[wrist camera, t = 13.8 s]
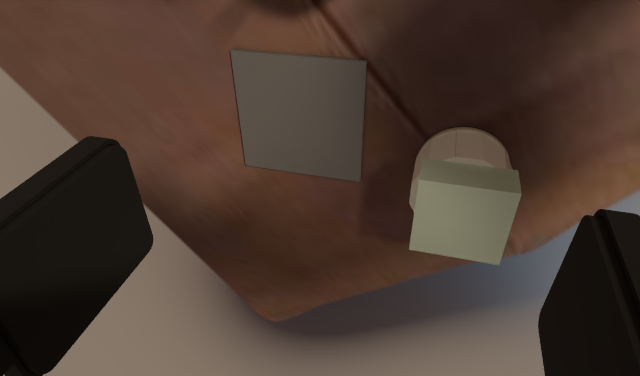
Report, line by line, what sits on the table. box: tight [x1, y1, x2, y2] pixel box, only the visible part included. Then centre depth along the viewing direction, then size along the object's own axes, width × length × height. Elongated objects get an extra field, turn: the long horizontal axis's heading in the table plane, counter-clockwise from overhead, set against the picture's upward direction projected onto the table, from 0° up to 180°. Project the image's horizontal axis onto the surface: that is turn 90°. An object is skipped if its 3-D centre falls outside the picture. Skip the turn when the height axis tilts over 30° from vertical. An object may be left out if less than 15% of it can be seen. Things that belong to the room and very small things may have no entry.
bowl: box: [409, 127, 513, 211], centre depth 38 cm, size 8×8×5 cm
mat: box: [230, 49, 367, 182], centre depth 41 cm, size 12×12×1 cm
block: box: [409, 158, 522, 265], centre depth 35 cm, size 7×7×3 cm
